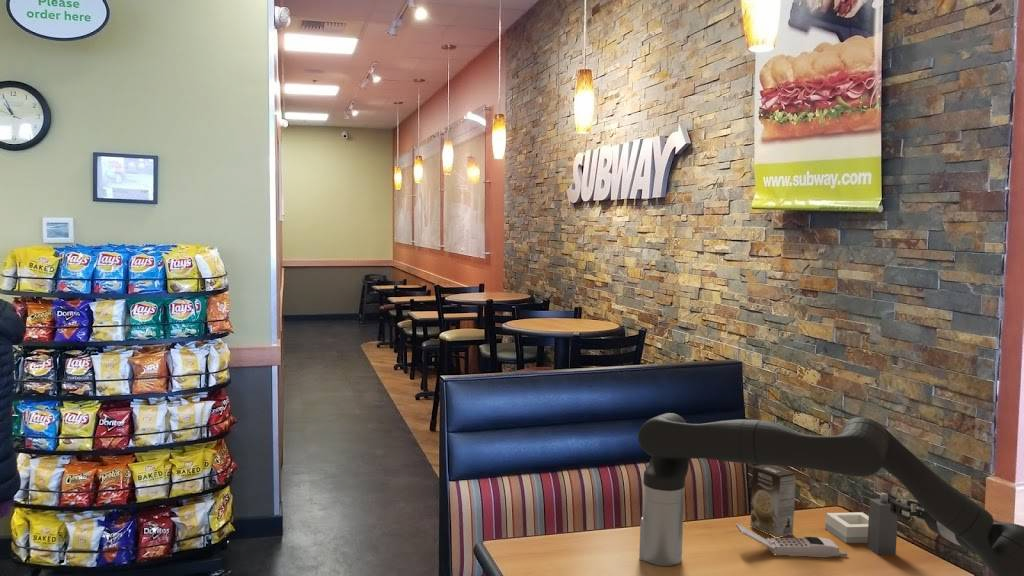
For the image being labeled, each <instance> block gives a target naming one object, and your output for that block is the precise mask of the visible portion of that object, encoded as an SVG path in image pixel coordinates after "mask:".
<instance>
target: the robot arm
mask: <svg viewBox="0 0 1024 576" xmlns="http://www.w3.org/2000/svg"><path fill="white" fill-rule="evenodd" d="M637 442H638V443H639V447H640V448H641V449H642V450H643V451H644V452H645V453H646V454H647V455H648V456H651V457H650V459H649V463H648V464H647V467H646V468H645V470H644V471H643V472H644V473H643V486H642V487H643V488H642V491H643V492H642V510H641V511H642V512H641V513H642V515H641V517H640V523H639V524H640V526H639V527H640V528H639V553H638V557H639V558H638V560H640V561H643V562H646V563H649V564H652V565H655V566H663V567H670V566H676V565H679V564H680V563H681V562H682V560H683V540H684V539H683V538H684V537H683V535H684V533H683V530H684V507H685V482H686V478H687V475H688V471H689V464H690V458H695V459H698V458H699V459H707V460H712V461H713V460H714V461H720V462H730V463H739V464H747V465H757V466H759V465H776V466H778V467H788V468H789V467H790V468H797V469H798V468H799V469H800V468H801V469H810V470H816V471H817V470H818V471H821V472H826V473H827V472H828V473H833V474H838V475H839V474H840V475H845V476H849V477H859V478H860V477H870V476H873V475H875V474H877V473H878V472H879V471H880V470H882V469H883V470H886V472H888V473H890V474H891V475H892V476H893V477H894V478H896V479H897V480H898V481H899V482H900V483H901V484H902V485H903V486H904V487H905V488H906V490H907V491H909V493H910V494H911V495H912V496H913V498H914V499H912V498H910V499H908V500H906V499H902V498H900V497H898V496H896V495H894V494H890V493H888V501H887V503H888V504H890V512H892V513H894V514H896V515H898V517H900V518H902V519H904V520H906V521H911V520H912V518H916V519H920V520H921V521H924V522H925V525H926V526H927V527H928V528H929V530H931V531H932V532H933V533H935V534H937V535H939V536H941V537H942V538H944V539H946V540H948V541H950V542H951V543H953V544H955V545H958V546H960V547H963V548H964V549H966V550H968V551H969V552H971V553H974V554H975V555H977V556H979V558H980V559H981V560H982V562H983V563H984V565H986V566H987V568H988V569H989V570H990V571H991V572H992V573H993V575H995V576H1024V525H1020V524H1017V523H1011V522H1010V523H1009V522H1001V521H994V517H993V515H992V514H991V513H990V512H989V511H988V510H987V509H985V508H983V507H982V506H981V505H980V504H978V503H976V502H975V501H974V500H972V499H971V498H969V497H968V496H967V495H965V494H963V493H962V492H961V491H959V490H958V489H956V488H955V487H954V486H952V485H951V484H949V483H948V482H946V481H945V480H944V479H943V478H942V477H940V476H939V475H938V474H937V473H935V472H934V471H933V470H932V469H930V468H929V466H928V465H926V463H924V462H923V461H921V459H919V458H918V456H916V455H914V453H913V452H912V451H910V449H908V448H907V447H906V446H905V445H904V444H902V442H900V440H898V438H896V436H894V434H892V433H891V432H890V430H888V429H887V428H885V427H884V426H883V425H882V424H881V423H880V422H878V421H876V420H874V419H872V418H868V417H865V416H864V417H863V416H856V417H853V418H851V419H848V420H847V421H846V422H845V423H844V424H843V426H842V428H841V430H840V432H839V434H837V435H812V434H805V433H801V432H799V431H796V430H794V429H791V428H790V427H787V426H785V425H783V424H781V423H778V422H775V421H771V420H763V419H747V418H745V419H744V418H743V419H730V420H729V419H727V420H719V421H712V422H706V423H687V421H686V420H685V419H684V418H683V417H682V416H681V415H680V414H677V413H674V412H672V413H671V412H666V413H662V414H659V415H657V416H654V417H652V418H650V419H648V420H647V421H645V422H644V423H643V424H642V425H641V427H640V428H639V431H638V434H637ZM913 505H915V507H913ZM913 508H914V510H913Z"/></svg>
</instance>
